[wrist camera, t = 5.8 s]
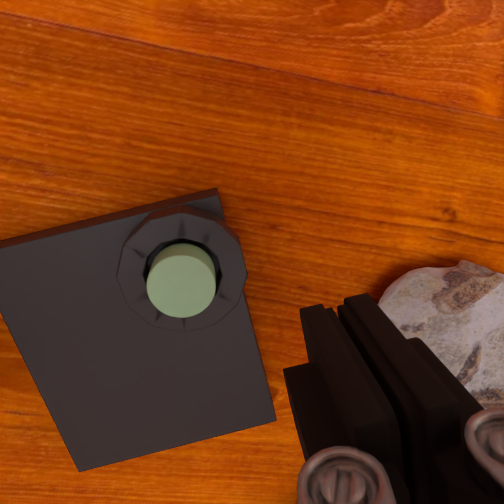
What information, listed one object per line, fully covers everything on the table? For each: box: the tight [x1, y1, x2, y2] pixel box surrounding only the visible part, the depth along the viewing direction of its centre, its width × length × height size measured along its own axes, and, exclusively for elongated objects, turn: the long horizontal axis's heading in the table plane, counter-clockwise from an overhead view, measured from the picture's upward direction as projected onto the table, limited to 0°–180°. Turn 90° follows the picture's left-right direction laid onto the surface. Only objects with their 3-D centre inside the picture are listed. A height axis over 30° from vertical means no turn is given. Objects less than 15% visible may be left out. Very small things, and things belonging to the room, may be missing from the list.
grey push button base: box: [0, 188, 277, 472], centre depth 23 cm, size 14×12×4 cm
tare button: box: [146, 243, 216, 318], centre depth 19 cm, size 3×3×2 cm
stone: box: [378, 260, 504, 409], centre depth 25 cm, size 12×9×3 cm
